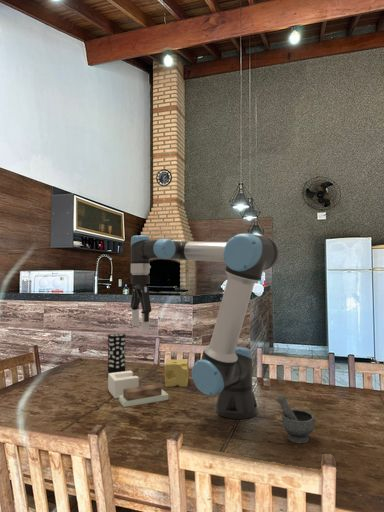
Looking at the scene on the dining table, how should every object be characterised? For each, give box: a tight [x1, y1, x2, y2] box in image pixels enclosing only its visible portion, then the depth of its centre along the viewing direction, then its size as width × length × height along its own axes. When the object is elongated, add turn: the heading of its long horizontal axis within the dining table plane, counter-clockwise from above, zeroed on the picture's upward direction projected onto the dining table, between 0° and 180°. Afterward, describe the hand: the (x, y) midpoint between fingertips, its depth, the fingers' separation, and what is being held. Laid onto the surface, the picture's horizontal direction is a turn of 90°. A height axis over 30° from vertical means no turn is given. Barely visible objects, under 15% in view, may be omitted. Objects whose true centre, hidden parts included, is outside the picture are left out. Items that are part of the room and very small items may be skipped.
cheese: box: [164, 358, 189, 388], centre depth 166 cm, size 10×11×10 cm
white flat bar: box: [118, 389, 169, 408], centre depth 144 cm, size 8×18×2 cm, turn 115°
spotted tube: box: [107, 332, 126, 374], centre depth 178 cm, size 8×8×20 cm
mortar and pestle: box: [276, 395, 316, 444], centre depth 111 cm, size 11×9×12 cm
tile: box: [123, 383, 163, 401], centre depth 144 cm, size 14×5×3 cm, turn 118°
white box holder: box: [107, 370, 140, 399], centre depth 154 cm, size 10×12×7 cm
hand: (140, 328), depth 145 cm, fingers open, 13 cm apart
